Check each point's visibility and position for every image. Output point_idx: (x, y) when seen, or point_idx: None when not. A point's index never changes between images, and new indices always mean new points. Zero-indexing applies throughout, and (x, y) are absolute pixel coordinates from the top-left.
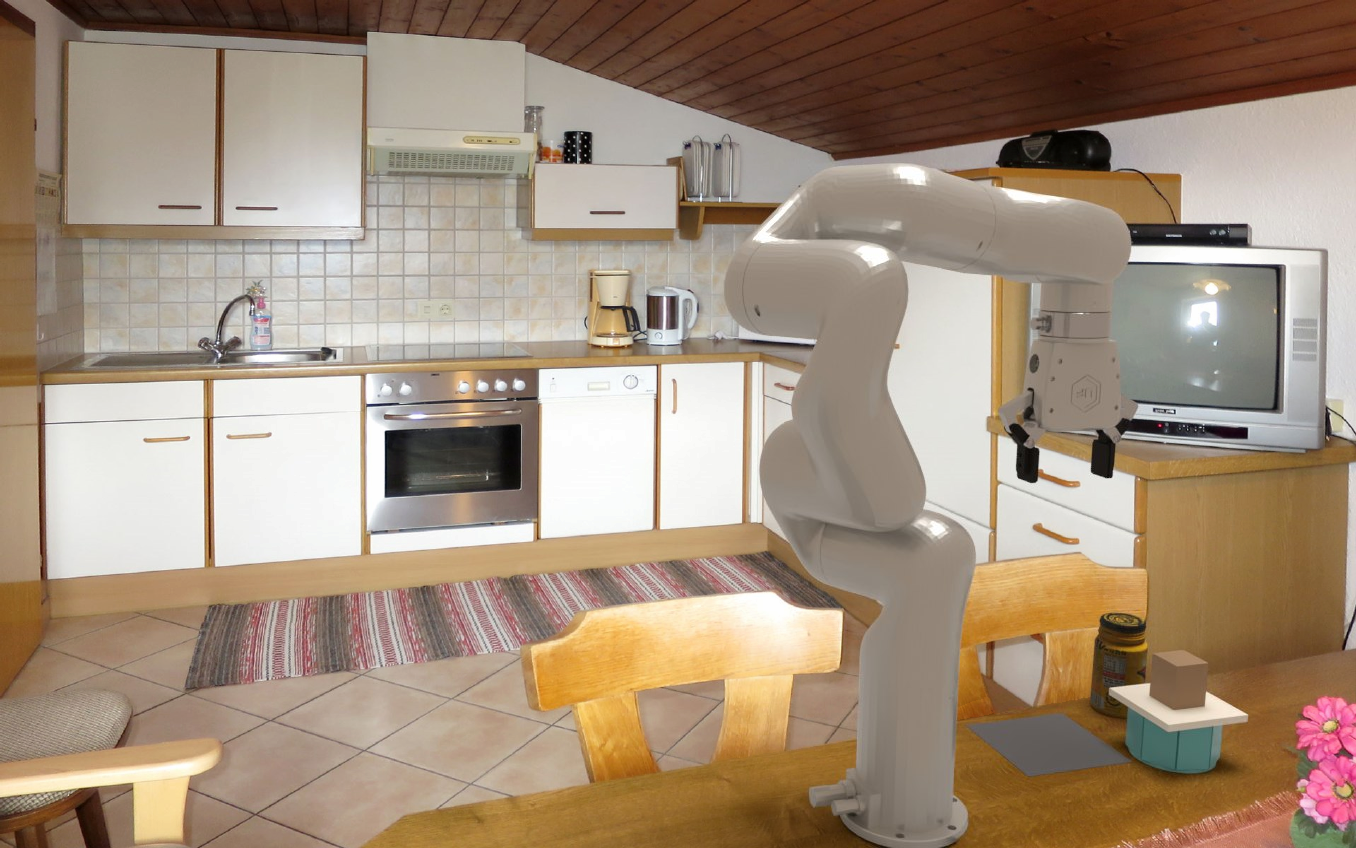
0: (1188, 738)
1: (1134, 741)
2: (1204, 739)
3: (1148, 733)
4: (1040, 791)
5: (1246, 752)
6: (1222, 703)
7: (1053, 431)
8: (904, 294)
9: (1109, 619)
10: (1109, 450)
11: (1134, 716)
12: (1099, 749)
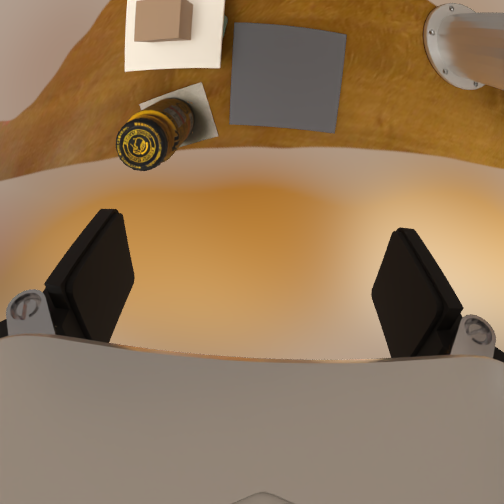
0: None
1: (223, 30)
2: None
3: None
4: (346, 18)
5: (117, 27)
6: (131, 11)
7: (460, 354)
8: None
9: (155, 150)
10: (75, 271)
11: None
12: (247, 50)
